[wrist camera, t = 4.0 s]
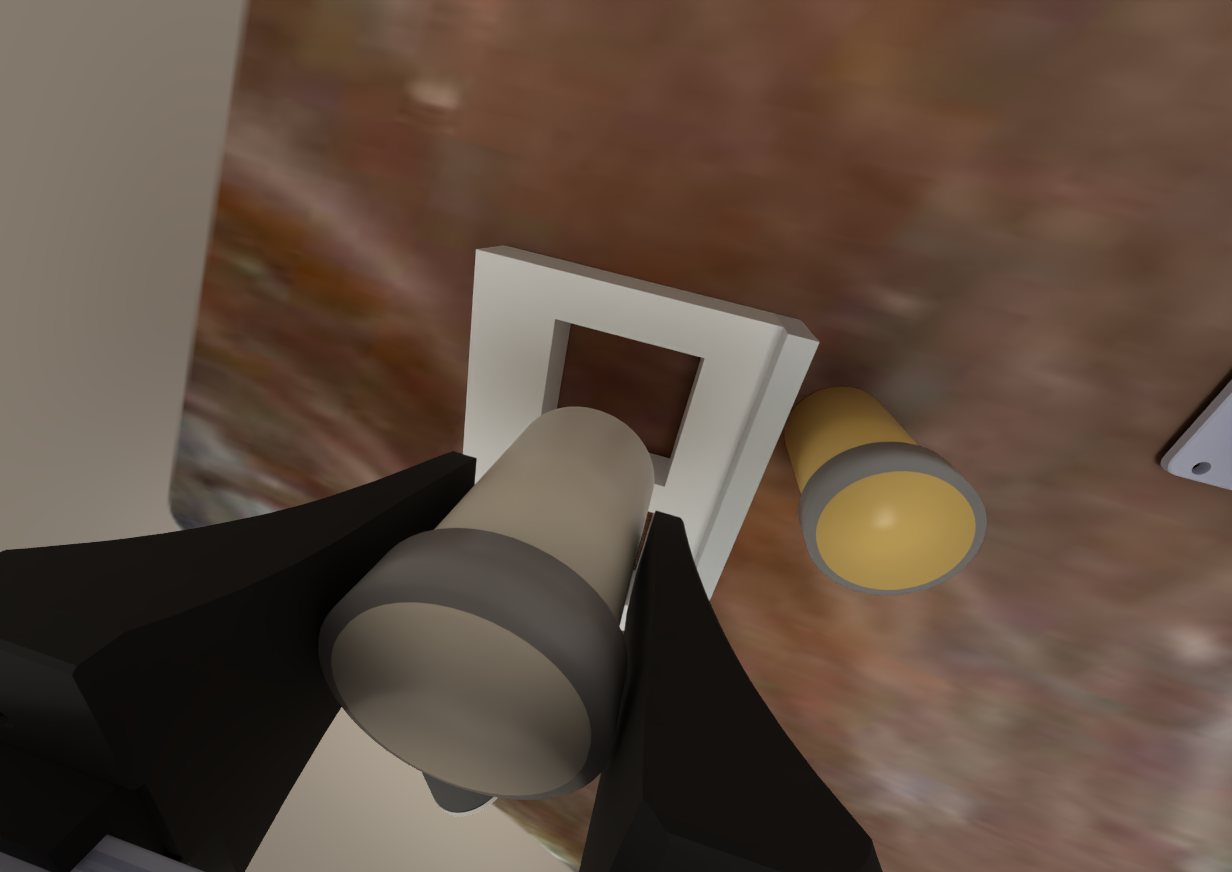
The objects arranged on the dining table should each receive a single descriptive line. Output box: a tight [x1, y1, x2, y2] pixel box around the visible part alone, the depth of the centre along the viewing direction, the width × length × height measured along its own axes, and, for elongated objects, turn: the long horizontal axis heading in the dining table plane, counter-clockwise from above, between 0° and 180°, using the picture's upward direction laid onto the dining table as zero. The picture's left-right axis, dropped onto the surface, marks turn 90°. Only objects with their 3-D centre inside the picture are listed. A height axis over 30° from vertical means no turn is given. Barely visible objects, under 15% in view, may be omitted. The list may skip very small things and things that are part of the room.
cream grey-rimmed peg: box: [318, 407, 655, 800], centre depth 10 cm, size 5×5×7 cm
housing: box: [463, 245, 819, 631], centre depth 20 cm, size 12×16×4 cm
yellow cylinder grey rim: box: [784, 386, 987, 595], centre depth 16 cm, size 5×5×7 cm
